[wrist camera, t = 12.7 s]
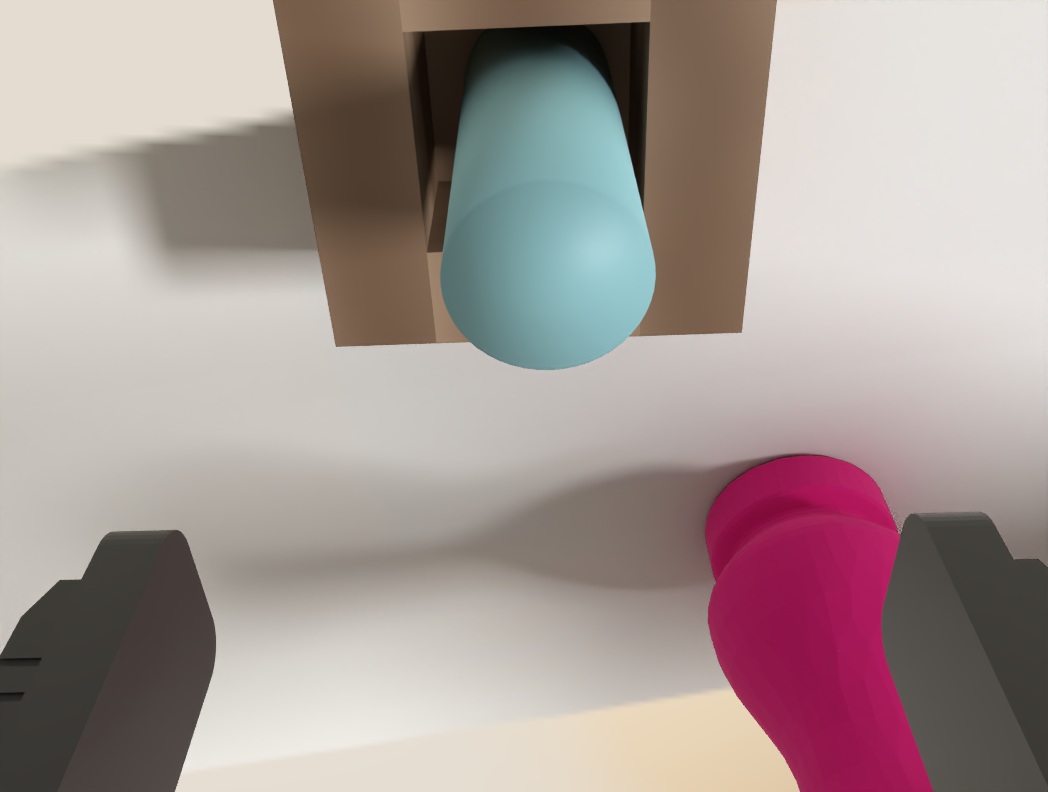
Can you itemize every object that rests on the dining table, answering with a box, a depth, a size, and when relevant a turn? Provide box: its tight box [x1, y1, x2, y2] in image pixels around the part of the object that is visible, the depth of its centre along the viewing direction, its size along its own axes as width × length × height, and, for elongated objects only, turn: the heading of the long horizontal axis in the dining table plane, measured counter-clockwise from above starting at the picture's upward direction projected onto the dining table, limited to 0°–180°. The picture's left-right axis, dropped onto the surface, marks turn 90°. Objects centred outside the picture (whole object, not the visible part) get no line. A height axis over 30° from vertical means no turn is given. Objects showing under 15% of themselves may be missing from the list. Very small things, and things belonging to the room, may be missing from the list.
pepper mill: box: [705, 455, 933, 792], centre depth 27 cm, size 7×7×20 cm
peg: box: [440, 24, 656, 370], centre depth 21 cm, size 4×4×10 cm
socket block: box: [273, 0, 777, 347], centre depth 23 cm, size 10×10×5 cm
